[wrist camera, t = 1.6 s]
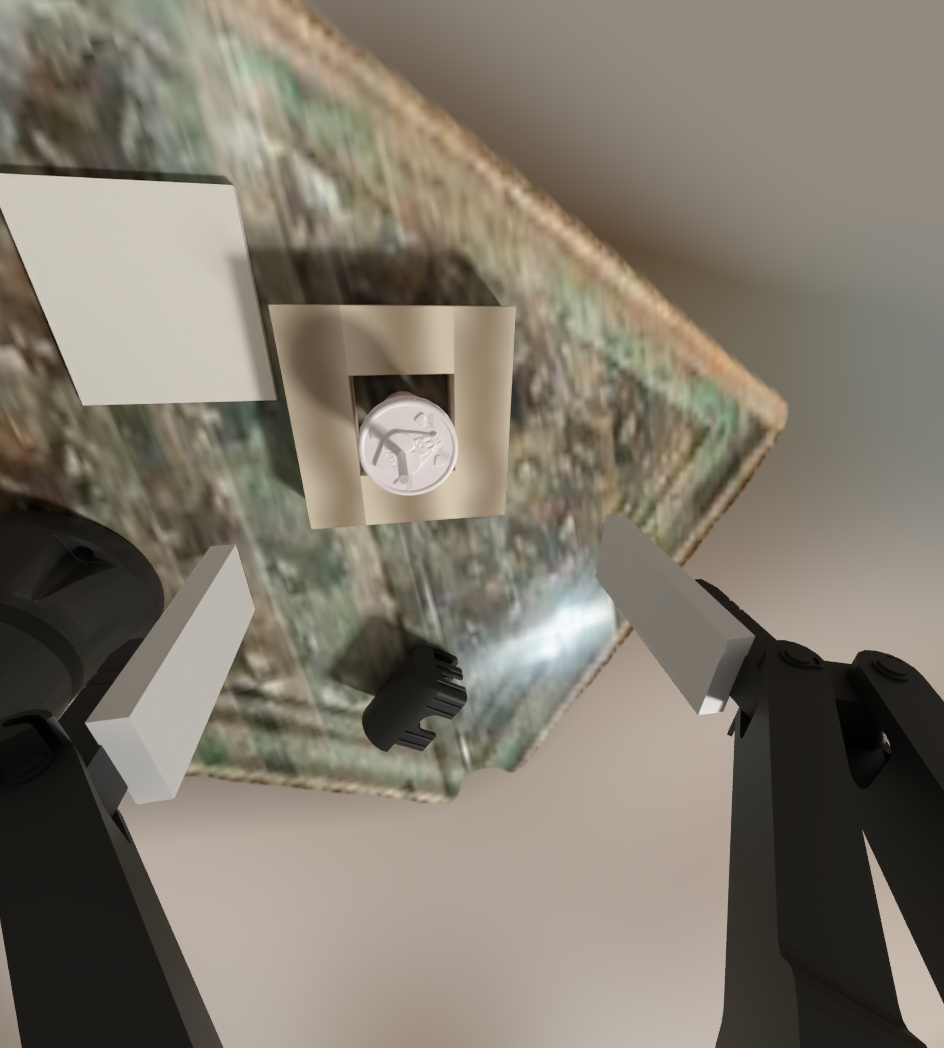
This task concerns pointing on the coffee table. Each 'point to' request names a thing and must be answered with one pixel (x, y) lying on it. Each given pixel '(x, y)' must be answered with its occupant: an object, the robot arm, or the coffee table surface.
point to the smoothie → (407, 444)
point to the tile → (143, 287)
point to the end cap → (414, 700)
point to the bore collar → (396, 349)
